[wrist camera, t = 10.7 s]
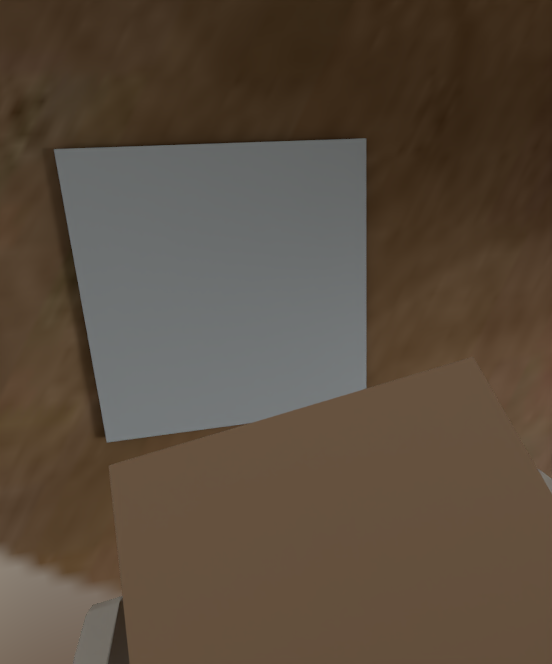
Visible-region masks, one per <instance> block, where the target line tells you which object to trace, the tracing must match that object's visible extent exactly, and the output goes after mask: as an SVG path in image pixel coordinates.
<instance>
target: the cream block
mask: <svg viewBox="0 0 552 664" xmlns="http://www.w3.org/2000/svg"><path fill="white" fill-rule="evenodd" d="M109 473H110V483H111V492H112V502H113V511H114V521H115V530H116V540H117V549H118V559H119V568H120V577H121V587H122V596H123V606H124V615H125V625H126V634H127V644H128V653H129V663H130V664H552V493H551V492H550V490H549V488H548V486H547V485H546V483H545V481H544V479H543V478H542V476H541V474H540V472H539V471H538V469H537V467H536V465H535V464H534V462H533V460H532V458H531V457H530V455H529V453H528V451H527V450H526V448H525V446H524V444H523V443H522V441H521V439H520V437H519V436H518V434H517V432H516V430H515V429H514V427H513V425H512V423H511V422H510V420H509V418H508V416H507V415H506V413H505V411H504V409H503V408H502V406H501V404H500V402H499V401H498V399H497V397H496V395H495V394H494V392H493V390H492V388H491V387H490V385H489V383H488V381H487V380H486V378H485V376H484V374H483V373H482V371H481V369H480V367H479V366H478V364H477V362H476V360H475V359H474V357H470V358H467V359H464V360H460V361H457V362H454V363H450V364H447V365H444V366H440V367H437V368H434V369H430V370H427V371H423V372H420V373H417V374H413V375H410V376H407V377H403V378H400V379H397V380H393V381H390V382H387V383H383V384H380V385H377V386H373V387H370V388H367V389H363V390H360V391H357V392H353V393H350V394H346V395H343V396H340V397H336V398H333V399H330V400H326V401H323V402H320V403H316V404H313V405H310V406H306V407H303V408H300V409H296V410H293V411H290V412H286V413H283V414H280V415H276V416H273V417H270V418H266V419H263V420H259V421H256V422H253V423H249V424H246V425H243V426H239V427H236V428H233V429H229V430H226V431H223V432H219V433H216V434H213V435H209V436H206V437H203V438H199V439H196V440H193V441H189V442H186V443H183V444H179V445H176V446H172V447H169V448H166V449H162V450H159V451H156V452H152V453H149V454H146V455H142V456H139V457H136V458H132V459H129V460H126V461H122V462H119V463H116V464H112V465H109Z"/></svg>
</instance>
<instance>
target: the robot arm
mask: <svg viewBox="0 0 552 664" xmlns="http://www.w3.org/2000/svg"><path fill="white" fill-rule="evenodd" d="M537 469H538V468H537ZM538 471H539V472H540V474H541V476H542V478H543V479H544V481H545V483H546V485H547V486H548V488H549V490H550V492H551V493H552V479H551V478H550V477H548V476H547V475H546V474H544V473H543V472H542V471H540V470H539V469H538ZM73 664H130V663H129V653H128V644H127V634H126V625H125V615H124V606H123V596H121V597H118V598H115V599H111V600H108V601H105V602H101V603H98V604H95V605H92V607H91V608H90V610H89V611H88V613H87V614H86V617H85V621H84V624H83V628H82V631H81V635H80V639H79V642H78V646H77V650H76V653H75V657H74V661H73Z"/></svg>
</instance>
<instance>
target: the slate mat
mask: <svg viewBox="0 0 552 664" xmlns="http://www.w3.org/2000/svg"><path fill="white" fill-rule="evenodd" d="M54 153H55V158H56V164H57V169H58V175H59V181H60V186H61V192H62V197H63V203H64V208H65V214H66V219H67V225H68V230H69V236H70V241H71V247H72V252H73V258H74V263H75V269H76V275H77V280H78V286H79V291H80V297H81V302H82V308H83V313H84V319H85V324H86V330H87V335H88V341H89V346H90V352H91V357H92V363H93V368H94V374H95V380H96V385H97V391H98V396H99V402H100V407H101V413H102V418H103V424H104V429H105V435H106V440H107V442H113V441H121V440H128V439H136V438H143V437H151V436H158V435H165V434H173V433H180V432H188V431H195V430H203V429H210V428H218V427H225V426H232V425H240V424H247V423H253V422H256V421H259V420H263V419H266V418H270V417H273V416H276V415H280V414H283V413H286V412H290V411H293V410H296V409H300V408H303V407H306V406H310V405H313V404H316V403H320V402H323V401H326V400H330V399H333V398H336V397H340V396H343V395H346V394H350V393H353V392H357V391H360V390H363V389H366V138H364V139H335V140H306V141H276V142H247V143H218V144H189V145H160V146H131V147H102V148H73V149H54Z"/></svg>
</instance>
